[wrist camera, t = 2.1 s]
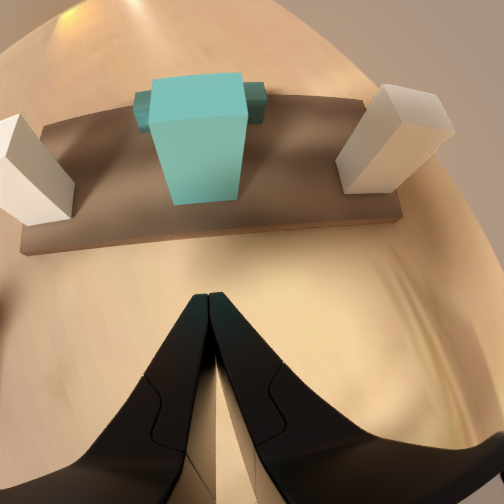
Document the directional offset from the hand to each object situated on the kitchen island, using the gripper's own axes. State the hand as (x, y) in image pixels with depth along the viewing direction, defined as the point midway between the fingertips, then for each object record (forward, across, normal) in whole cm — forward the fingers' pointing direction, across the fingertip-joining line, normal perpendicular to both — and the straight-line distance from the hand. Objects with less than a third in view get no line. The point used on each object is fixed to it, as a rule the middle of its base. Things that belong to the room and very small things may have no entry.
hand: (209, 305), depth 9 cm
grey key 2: (+14, +12, +1) cm, 19 cm away
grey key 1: (+14, -12, +1) cm, 19 cm away
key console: (+17, 0, 0) cm, 17 cm away
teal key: (+14, 0, +1) cm, 14 cm away
